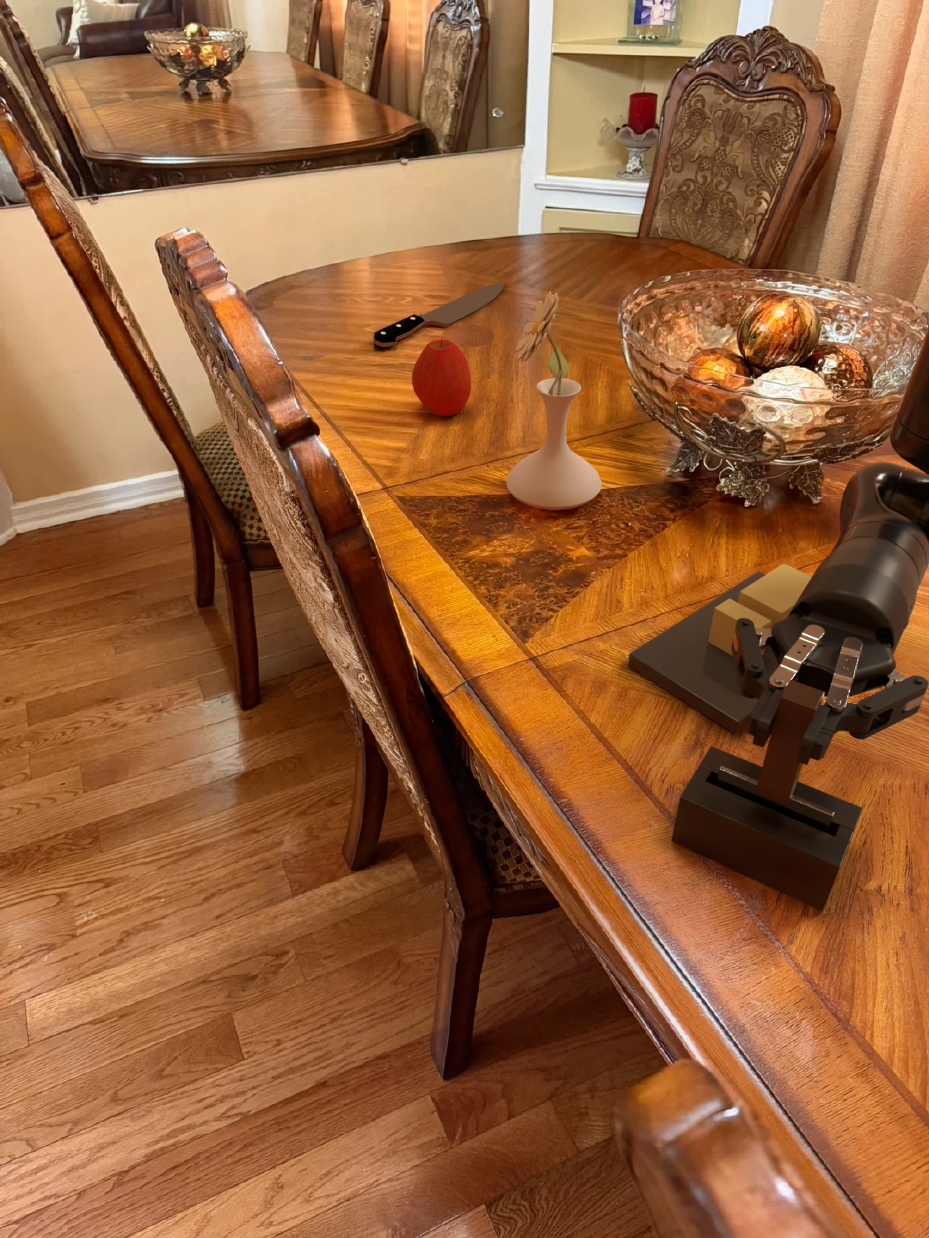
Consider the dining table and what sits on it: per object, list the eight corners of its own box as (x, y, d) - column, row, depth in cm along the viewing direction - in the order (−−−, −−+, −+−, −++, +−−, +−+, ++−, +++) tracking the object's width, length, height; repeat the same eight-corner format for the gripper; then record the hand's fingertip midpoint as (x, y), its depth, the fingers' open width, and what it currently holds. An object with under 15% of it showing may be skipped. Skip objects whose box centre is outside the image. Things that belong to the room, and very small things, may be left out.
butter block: (775, 596, 88) (783, 562, 86) (815, 617, 85) (825, 583, 83) (732, 625, 85) (739, 591, 82) (773, 647, 82) (782, 613, 79)
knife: (712, 812, 68) (746, 663, 59) (818, 859, 64) (872, 708, 55) (703, 830, 67) (736, 680, 58) (810, 878, 63) (863, 727, 54)
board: (755, 582, 93) (758, 570, 92) (861, 636, 85) (865, 624, 84) (627, 665, 82) (629, 653, 81) (735, 734, 75) (738, 722, 74)
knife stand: (701, 789, 70) (710, 745, 67) (846, 852, 65) (863, 807, 62) (670, 841, 66) (679, 796, 63) (822, 912, 61) (840, 867, 58)
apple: (404, 418, 125) (399, 343, 119) (430, 396, 131) (427, 324, 125) (457, 428, 123) (455, 352, 116) (481, 405, 128) (481, 332, 122)
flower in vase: (524, 466, 114) (529, 263, 98) (611, 481, 110) (631, 274, 95) (487, 515, 104) (486, 300, 89) (581, 534, 100) (597, 313, 85)
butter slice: (722, 632, 84) (729, 598, 81) (763, 655, 81) (771, 620, 79) (707, 641, 83) (714, 607, 80) (748, 665, 80) (756, 630, 77)
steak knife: (520, 290, 171) (522, 278, 170) (395, 357, 144) (395, 343, 143) (497, 283, 173) (498, 271, 172) (369, 347, 146) (369, 334, 145)
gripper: (773, 537, 68) (685, 661, 57) (971, 593, 62) (916, 745, 50) (756, 615, 72) (671, 744, 61) (938, 675, 66) (881, 831, 55)
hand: (782, 744), depth 56 cm, fingers closed on knife, 2 cm apart
